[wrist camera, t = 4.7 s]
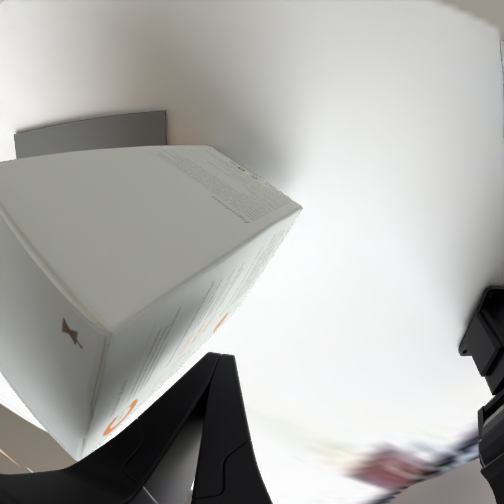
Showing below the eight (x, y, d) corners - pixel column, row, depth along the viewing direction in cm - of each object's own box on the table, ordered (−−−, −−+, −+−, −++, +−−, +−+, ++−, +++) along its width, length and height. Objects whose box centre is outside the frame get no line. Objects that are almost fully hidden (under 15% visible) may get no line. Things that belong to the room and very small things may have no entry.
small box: (209, 142, 17) (-31, 158, 5) (306, 206, 16) (114, 339, 4) (156, 255, 20) (-20, 346, 9) (233, 316, 20) (81, 469, 8)
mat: (165, 110, 16) (163, 110, 16) (183, 313, 23) (181, 316, 23) (16, 133, 18) (13, 134, 18) (51, 291, 24) (49, 293, 24)
